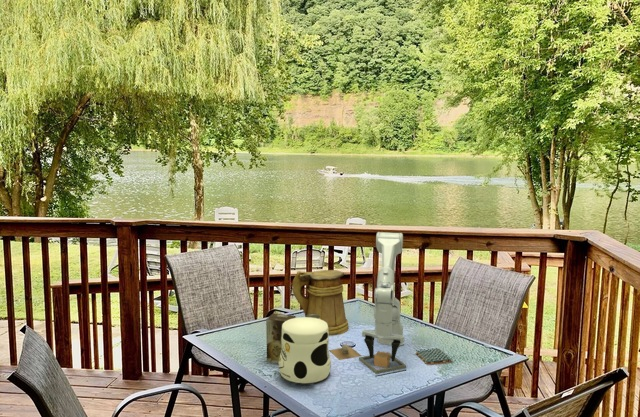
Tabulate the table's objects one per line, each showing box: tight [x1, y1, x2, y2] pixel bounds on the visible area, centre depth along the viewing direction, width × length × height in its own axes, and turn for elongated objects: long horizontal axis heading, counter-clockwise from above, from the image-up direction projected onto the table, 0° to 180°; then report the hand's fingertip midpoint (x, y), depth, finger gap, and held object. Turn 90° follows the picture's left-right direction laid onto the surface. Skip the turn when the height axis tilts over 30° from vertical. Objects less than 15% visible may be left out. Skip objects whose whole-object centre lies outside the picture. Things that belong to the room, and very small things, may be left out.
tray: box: [358, 351, 407, 377], centre depth 179 cm, size 12×12×2 cm
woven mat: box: [414, 347, 453, 366], centre depth 186 cm, size 10×11×2 cm
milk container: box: [278, 316, 332, 386], centre depth 169 cm, size 17×17×18 cm
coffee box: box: [265, 313, 297, 365], centre depth 182 cm, size 9×6×16 cm
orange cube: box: [373, 350, 391, 368], centre depth 179 cm, size 4×4×4 cm
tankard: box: [291, 269, 350, 337], centre depth 211 cm, size 18×24×25 cm
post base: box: [328, 344, 362, 361], centre depth 187 cm, size 9×9×4 cm
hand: (382, 358), depth 179 cm, fingers open, 7 cm apart
